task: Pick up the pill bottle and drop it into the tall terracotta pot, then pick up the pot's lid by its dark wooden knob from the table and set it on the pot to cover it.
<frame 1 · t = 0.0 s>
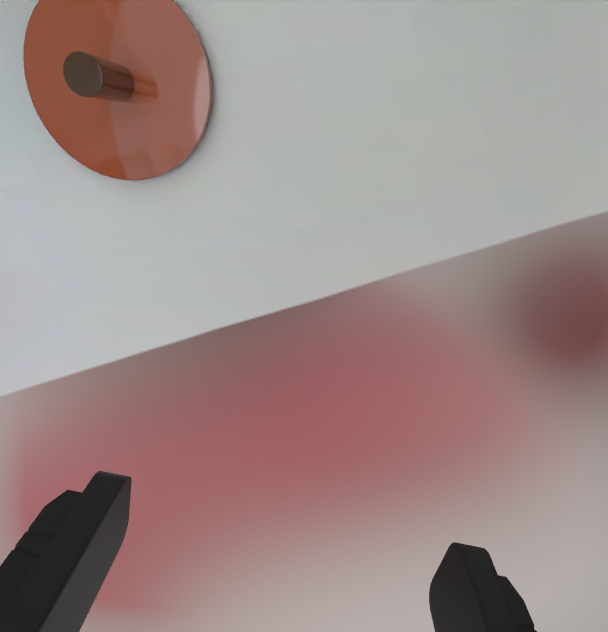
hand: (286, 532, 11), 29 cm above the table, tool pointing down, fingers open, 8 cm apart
lid: (120, 83, 33), point 1 cm above the table
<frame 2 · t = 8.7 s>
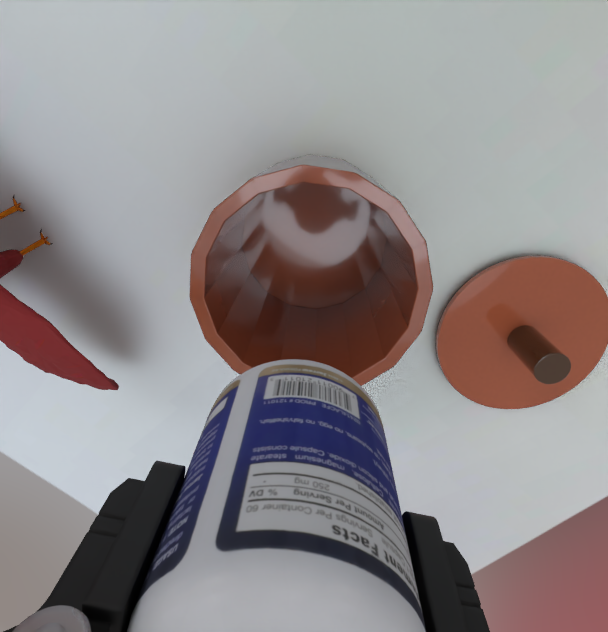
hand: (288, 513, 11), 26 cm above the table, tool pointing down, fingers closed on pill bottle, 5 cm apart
pill bottle: (297, 423, 15), point 22 cm above the table, touching gripper
lid: (519, 335, 36), point 1 cm above the table
decorative bird sculpture: (14, 237, 35), on the table
pot: (313, 240, 34), on the table
when the fingers open (11 cm above the table, at t = 12.8 s): pill bottle drops 7 cm, resting on pot.
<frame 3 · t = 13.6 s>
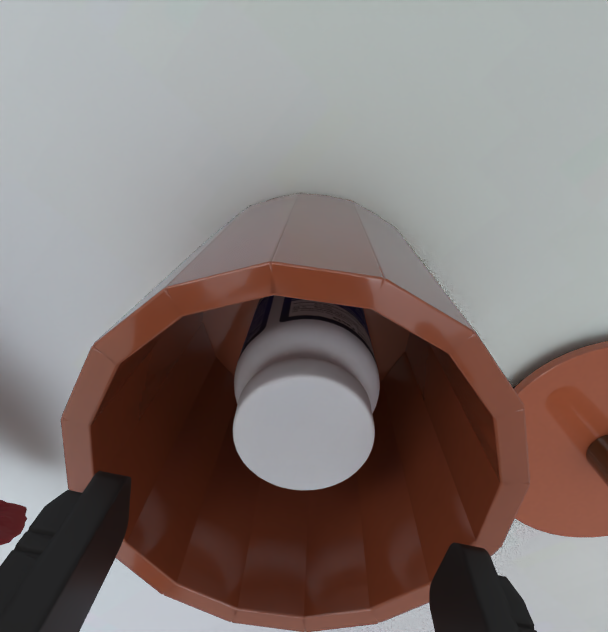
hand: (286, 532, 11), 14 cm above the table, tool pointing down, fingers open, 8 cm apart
pill bottle: (310, 315, 23), resting on pot
lid: (602, 444, 25), point 1 cm above the table
pot: (307, 313, 23), on the table
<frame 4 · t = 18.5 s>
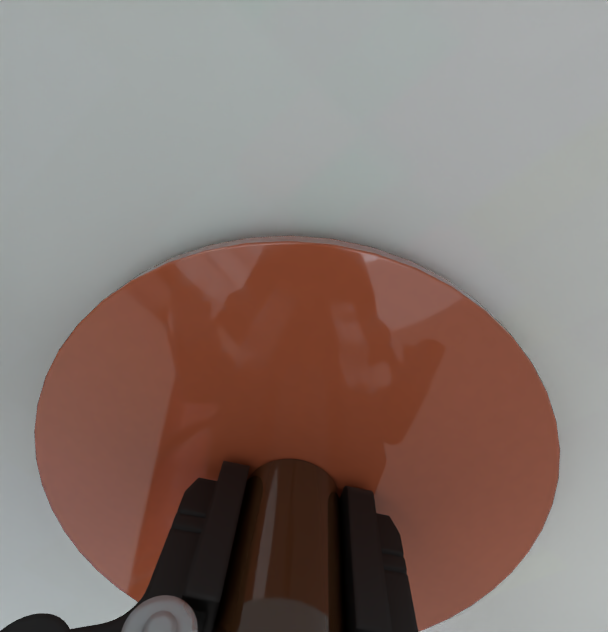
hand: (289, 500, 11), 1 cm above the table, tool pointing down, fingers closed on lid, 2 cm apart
lid: (292, 478, 12), point 1 cm above the table, touching gripper
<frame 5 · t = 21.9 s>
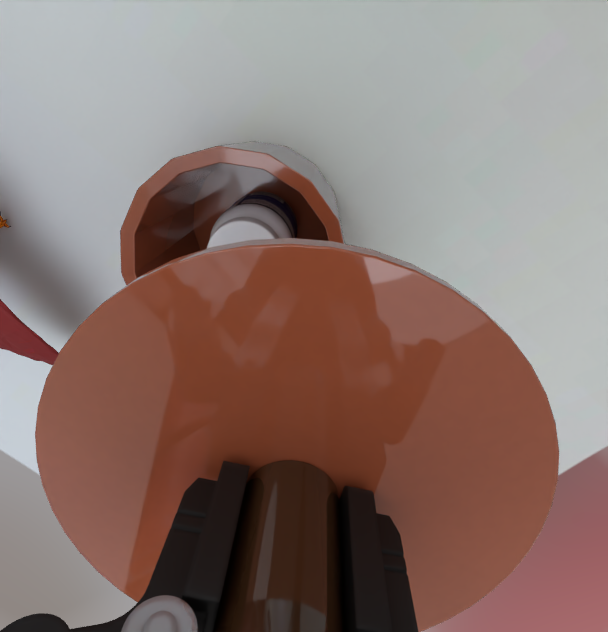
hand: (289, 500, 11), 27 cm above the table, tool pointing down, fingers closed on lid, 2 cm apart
pill bottle: (264, 225, 35), resting on pot
lid: (292, 479, 12), point 26 cm above the table, touching gripper
pot: (262, 225, 36), on the table
when the fingers open (13 cm above the table, at t = 25.6 s): lid stays where it is, resting on pot.
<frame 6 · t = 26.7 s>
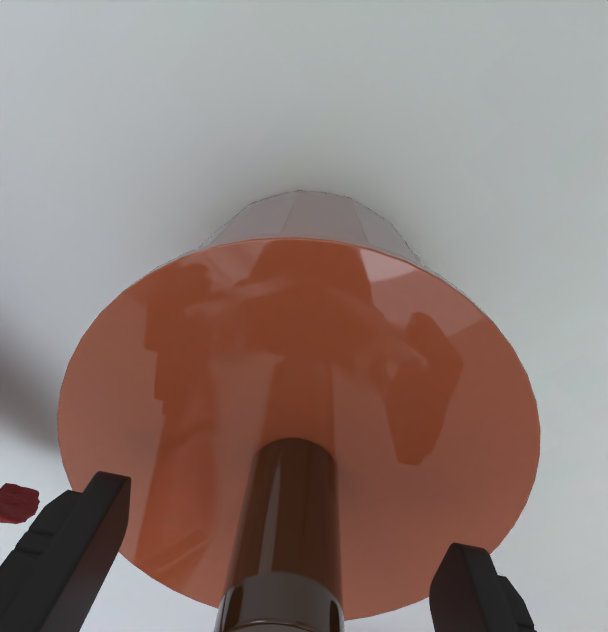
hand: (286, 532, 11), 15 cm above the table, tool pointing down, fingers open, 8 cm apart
lid: (295, 458, 13), point 12 cm above the table, touching pot
pot: (307, 305, 25), on the table
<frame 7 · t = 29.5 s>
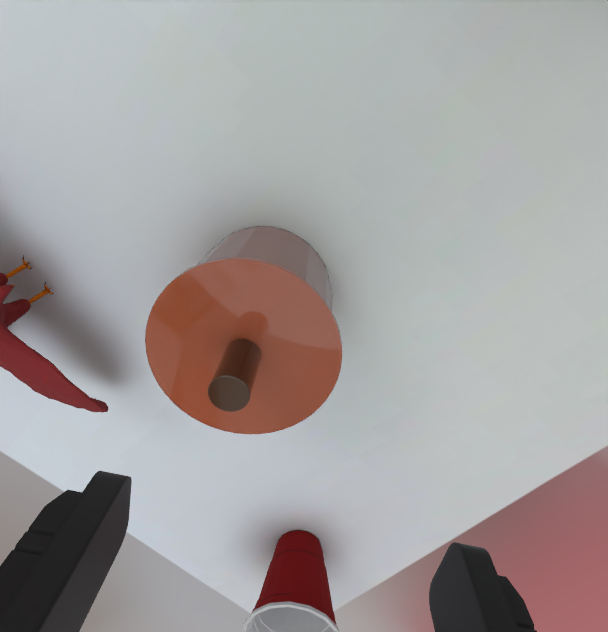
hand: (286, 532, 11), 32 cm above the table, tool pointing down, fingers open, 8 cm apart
lid: (244, 350, 31), point 12 cm above the table, touching pot
decorative bird sculpture: (23, 287, 44), on the table
pot: (265, 290, 42), on the table
plastic cup: (298, 543, 56), on the table
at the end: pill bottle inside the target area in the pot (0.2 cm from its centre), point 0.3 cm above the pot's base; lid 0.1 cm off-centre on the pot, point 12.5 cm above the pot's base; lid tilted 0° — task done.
